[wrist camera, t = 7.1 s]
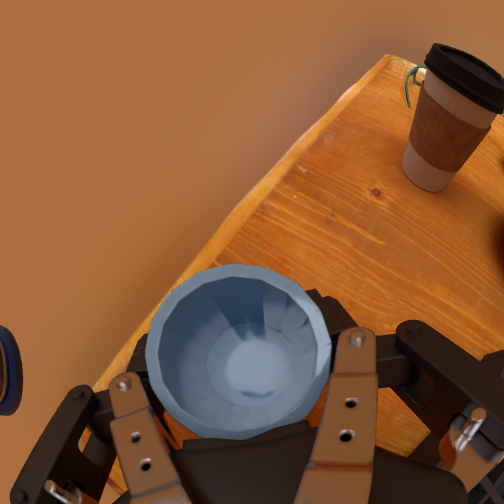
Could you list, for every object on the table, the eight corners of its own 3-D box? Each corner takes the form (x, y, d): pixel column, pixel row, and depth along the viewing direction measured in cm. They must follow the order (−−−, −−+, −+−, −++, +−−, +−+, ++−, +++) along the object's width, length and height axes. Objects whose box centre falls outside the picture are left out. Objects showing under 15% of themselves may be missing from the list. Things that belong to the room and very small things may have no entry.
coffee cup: (463, 204, 22) (528, 103, 9) (405, 200, 23) (467, 70, 10) (436, 150, 26) (477, 54, 13) (381, 143, 27) (413, 28, 13)
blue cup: (241, 431, 13) (215, 474, 6) (183, 353, 16) (117, 328, 8) (321, 371, 15) (367, 363, 7) (260, 298, 17) (253, 233, 10)
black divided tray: (424, 570, 4) (440, 584, 1) (338, 513, 11) (351, 536, 8) (534, 445, 8) (556, 444, 5) (485, 354, 15) (514, 345, 12)
